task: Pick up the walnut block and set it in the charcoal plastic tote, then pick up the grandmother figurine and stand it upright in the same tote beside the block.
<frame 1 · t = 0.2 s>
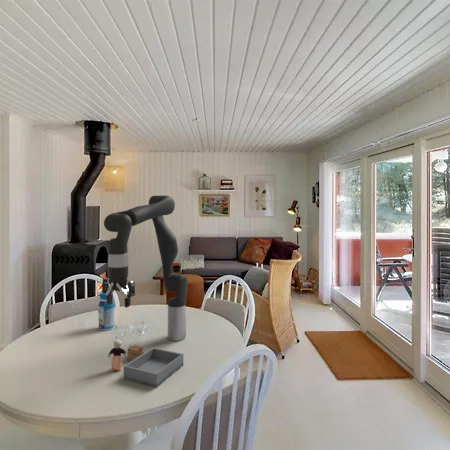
hand: (118, 305, 133), 28 cm above the table, tool pointing down, fingers open, 8 cm apart
tote: (154, 371, 138), on the table
walnut block: (135, 358, 151), on the table
blue labelled canister: (106, 328, 187), on the table
grandmother figurine: (117, 370, 140), on the table
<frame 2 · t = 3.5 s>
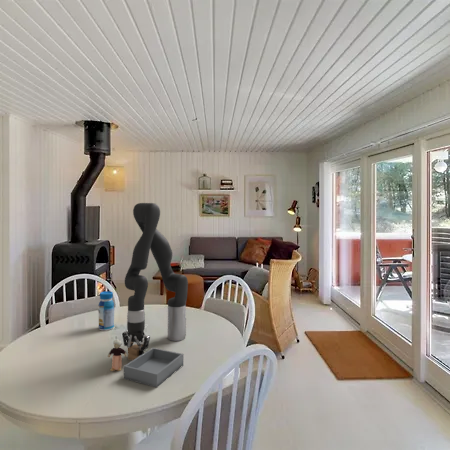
hand: (135, 356, 151), 1 cm above the table, tool pointing down, fingers closed on walnut block, 5 cm apart
walnut block: (135, 358, 151), on the table, touching gripper
everything else where it was.
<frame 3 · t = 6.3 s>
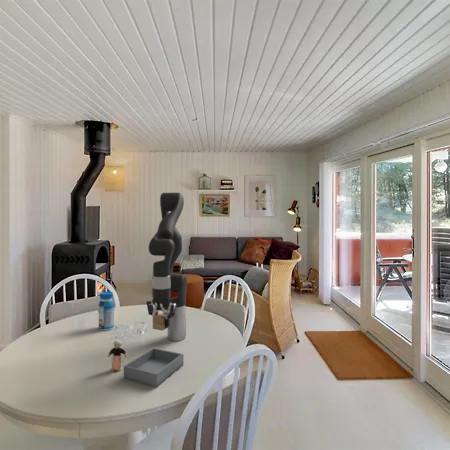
hand: (161, 326, 142), 17 cm above the table, tool pointing down, fingers closed on walnut block, 5 cm apart
walnut block: (161, 327, 142), point 17 cm above the table, touching gripper
everything else where it was.
when the fingers open (3 cm above the table, at t = 9.5 s): walnut block drops 1 cm, resting on tote.
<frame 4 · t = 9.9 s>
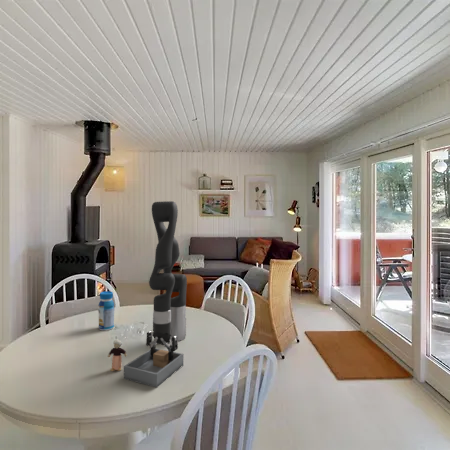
hand: (161, 357, 143), 4 cm above the table, tool pointing down, fingers open, 8 cm apart
walnut block: (161, 364, 143), point 1 cm above the table, touching tote
everything else where it was.
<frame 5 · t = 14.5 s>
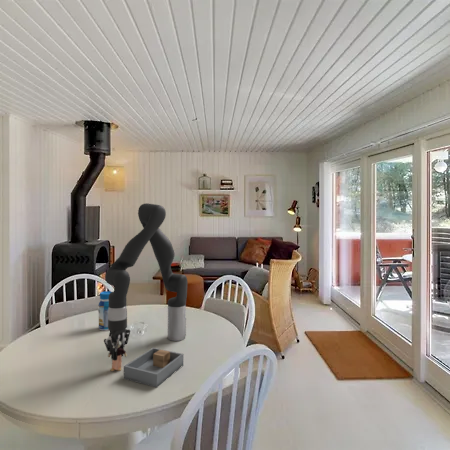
hand: (117, 357, 140), 5 cm above the table, tool pointing down, fingers closed on grandmother figurine, 3 cm apart
grandmother figurine: (117, 370, 140), on the table, touching gripper
everything else where it was.
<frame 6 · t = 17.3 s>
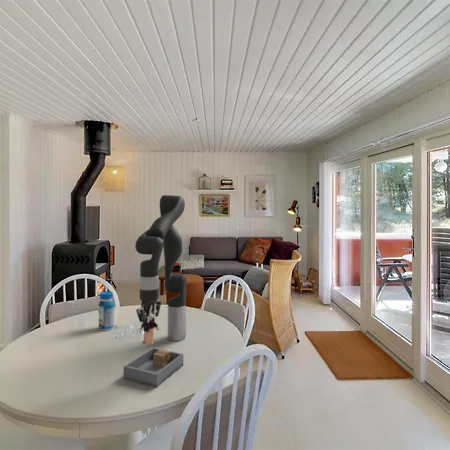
hand: (149, 329, 134), 19 cm above the table, tool pointing down, fingers closed on grandmother figurine, 3 cm apart
grandmother figurine: (149, 343, 134), point 13 cm above the table, touching gripper
everything else where it was.
when the fingers open (7 cm above the table, at t = 20.3 s): grandmother figurine stays where it is, resting on tote.
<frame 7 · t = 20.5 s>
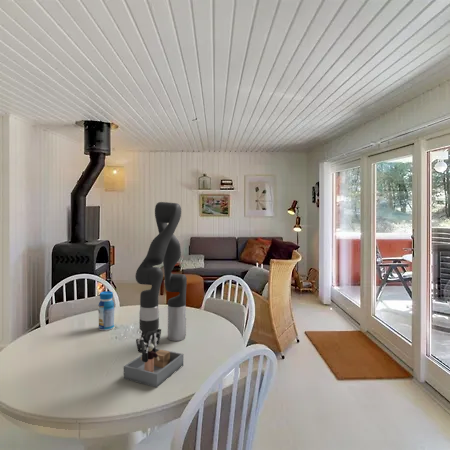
hand: (149, 358, 134), 7 cm above the table, tool pointing down, fingers open, 4 cm apart
grandmother figurine: (149, 373, 135), point 1 cm above the table, touching tote
everything else where it was.
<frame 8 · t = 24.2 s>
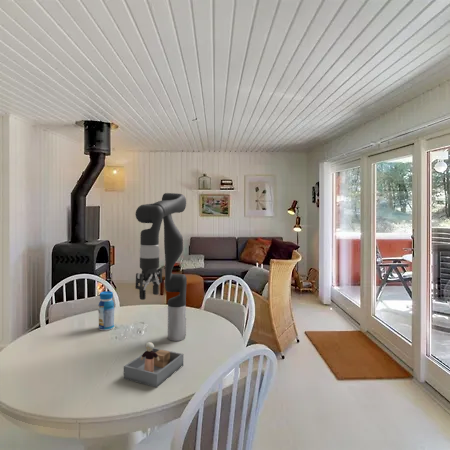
hand: (149, 296, 133), 32 cm above the table, tool pointing down, fingers open, 8 cm apart
nothing on the table moved.
at the end: walnut block inside the target area on the tote (5.0 cm from its centre), point 1.0 cm above the tote's base; grandmother figurine inside the target area on the tote (3.7 cm from its centre), point 0.8 cm above the tote's base; grandmother figurine tilted 0° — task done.
